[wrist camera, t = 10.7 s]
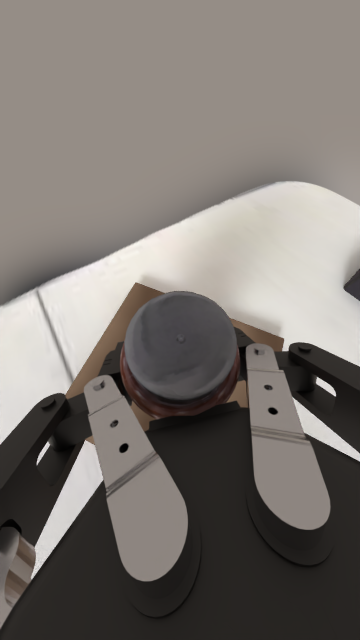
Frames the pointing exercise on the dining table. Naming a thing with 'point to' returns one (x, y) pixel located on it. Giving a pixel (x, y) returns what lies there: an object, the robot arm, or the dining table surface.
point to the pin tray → (118, 334)
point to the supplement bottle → (179, 356)
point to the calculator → (354, 285)
